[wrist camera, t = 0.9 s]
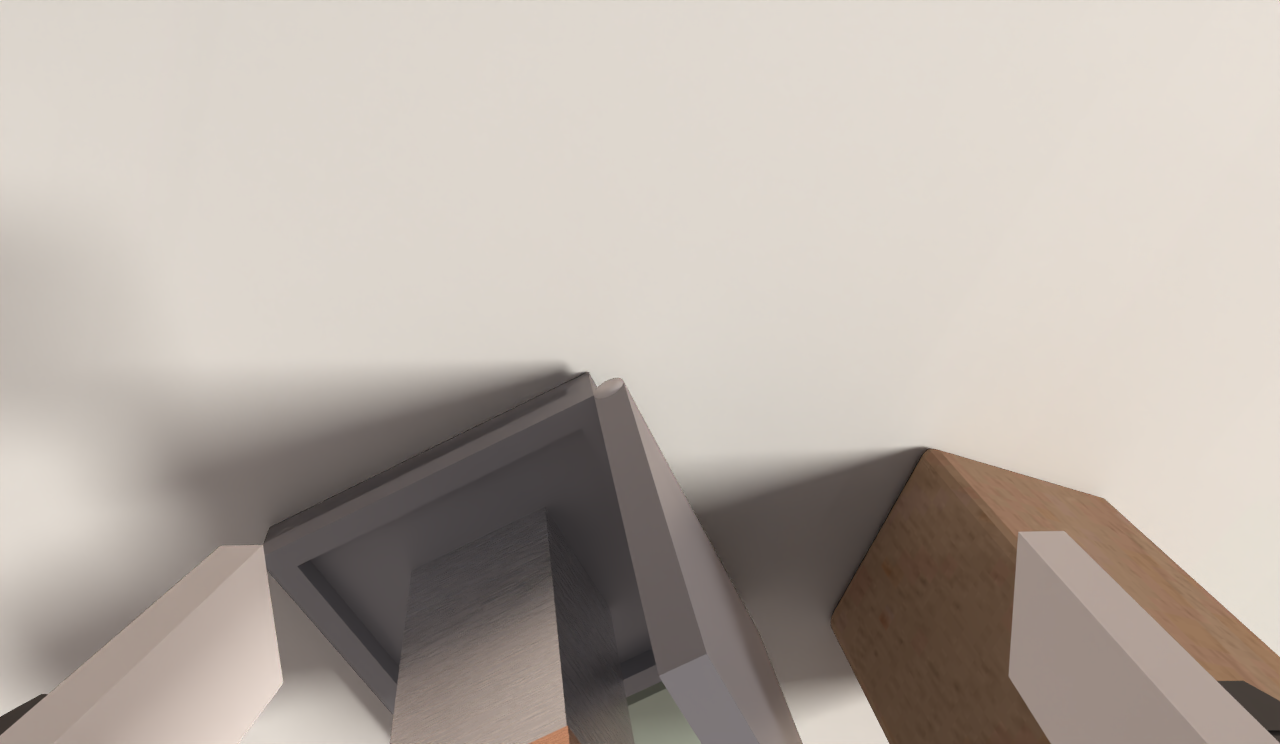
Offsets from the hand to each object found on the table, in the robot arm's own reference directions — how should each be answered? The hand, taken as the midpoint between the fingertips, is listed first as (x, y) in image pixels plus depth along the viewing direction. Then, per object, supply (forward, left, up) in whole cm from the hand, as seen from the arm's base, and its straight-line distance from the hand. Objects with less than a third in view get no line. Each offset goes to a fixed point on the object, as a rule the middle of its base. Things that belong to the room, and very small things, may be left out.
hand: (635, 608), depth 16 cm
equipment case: (+11, -8, -19) cm, 23 cm away
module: (+11, -8, -18) cm, 23 cm away
